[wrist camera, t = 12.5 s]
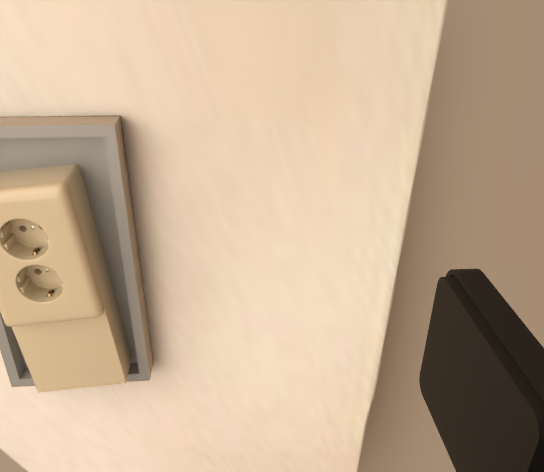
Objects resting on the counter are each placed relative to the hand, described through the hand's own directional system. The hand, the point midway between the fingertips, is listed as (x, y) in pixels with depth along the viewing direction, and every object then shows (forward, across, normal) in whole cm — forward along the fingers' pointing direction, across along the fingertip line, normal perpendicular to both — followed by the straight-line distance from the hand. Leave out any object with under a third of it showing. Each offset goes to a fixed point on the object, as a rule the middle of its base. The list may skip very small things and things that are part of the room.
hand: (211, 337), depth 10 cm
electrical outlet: (+28, +13, +16) cm, 34 cm away
